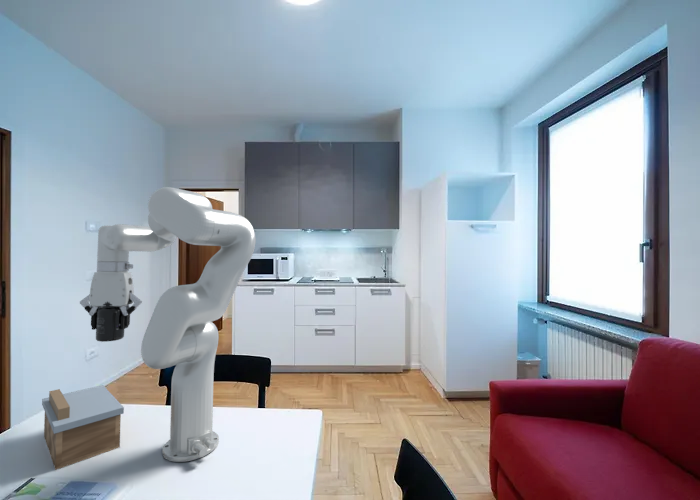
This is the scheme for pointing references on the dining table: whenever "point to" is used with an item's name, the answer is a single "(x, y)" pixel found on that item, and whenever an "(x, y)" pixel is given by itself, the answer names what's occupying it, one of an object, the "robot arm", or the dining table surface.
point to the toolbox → (82, 441)
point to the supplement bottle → (109, 323)
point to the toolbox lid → (80, 407)
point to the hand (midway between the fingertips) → (110, 327)
